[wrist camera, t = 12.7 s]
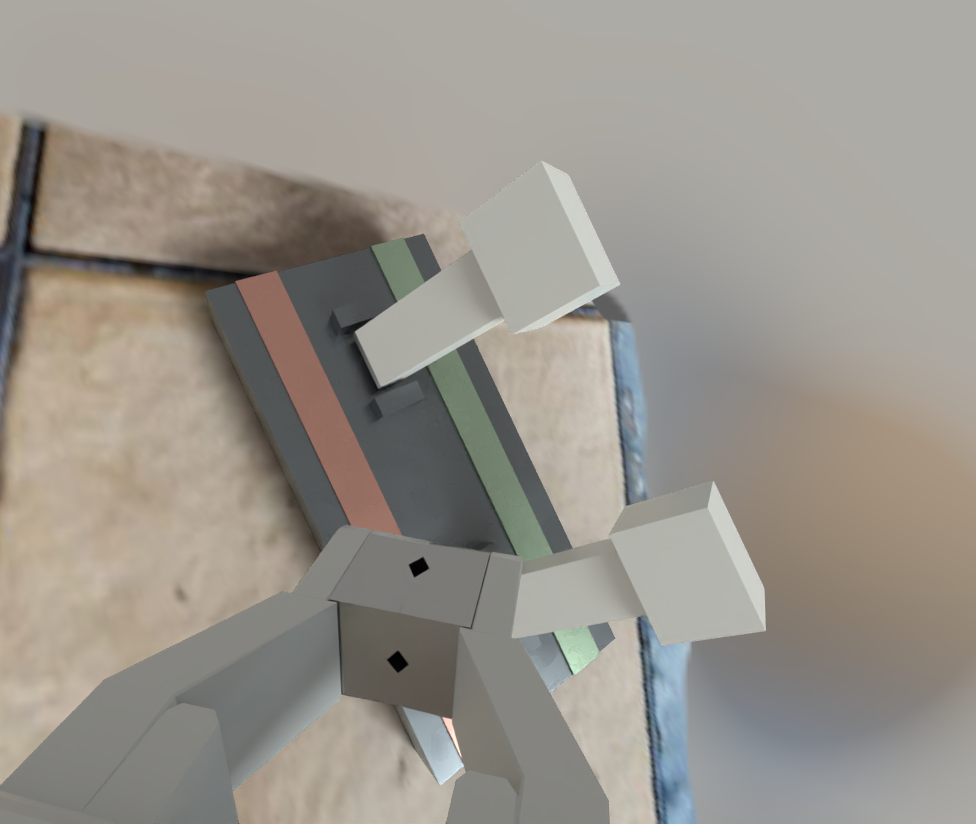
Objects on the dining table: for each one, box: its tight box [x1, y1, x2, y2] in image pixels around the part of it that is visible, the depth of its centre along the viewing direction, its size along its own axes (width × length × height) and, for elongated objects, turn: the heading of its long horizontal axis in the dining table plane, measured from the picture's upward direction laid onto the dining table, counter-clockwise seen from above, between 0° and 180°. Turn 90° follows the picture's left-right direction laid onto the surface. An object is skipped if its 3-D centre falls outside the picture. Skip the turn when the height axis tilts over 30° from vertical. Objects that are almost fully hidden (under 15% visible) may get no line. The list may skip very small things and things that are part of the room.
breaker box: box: [205, 234, 615, 785], centre depth 28 cm, size 12×26×5 cm, turn 29°
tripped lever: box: [512, 481, 766, 646], centre depth 23 cm, size 3×5×13 cm
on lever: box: [353, 161, 620, 389], centre depth 23 cm, size 3×5×13 cm
